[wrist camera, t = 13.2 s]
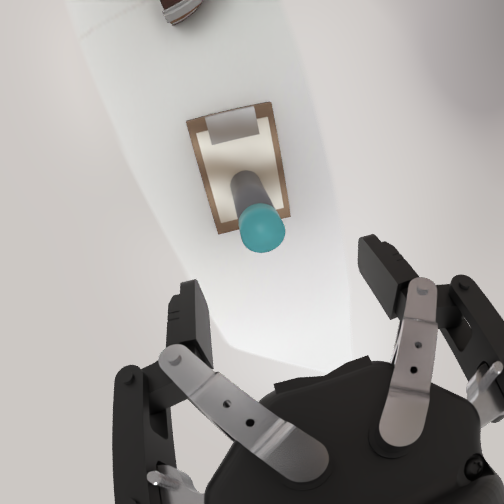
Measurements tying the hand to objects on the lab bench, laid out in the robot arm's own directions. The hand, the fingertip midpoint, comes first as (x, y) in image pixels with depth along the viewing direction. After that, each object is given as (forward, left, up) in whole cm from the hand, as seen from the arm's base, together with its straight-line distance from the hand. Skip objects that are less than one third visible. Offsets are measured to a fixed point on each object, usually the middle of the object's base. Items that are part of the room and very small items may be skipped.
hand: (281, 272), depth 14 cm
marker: (+3, 0, -20) cm, 20 cm away
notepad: (+2, 0, -21) cm, 21 cm away
